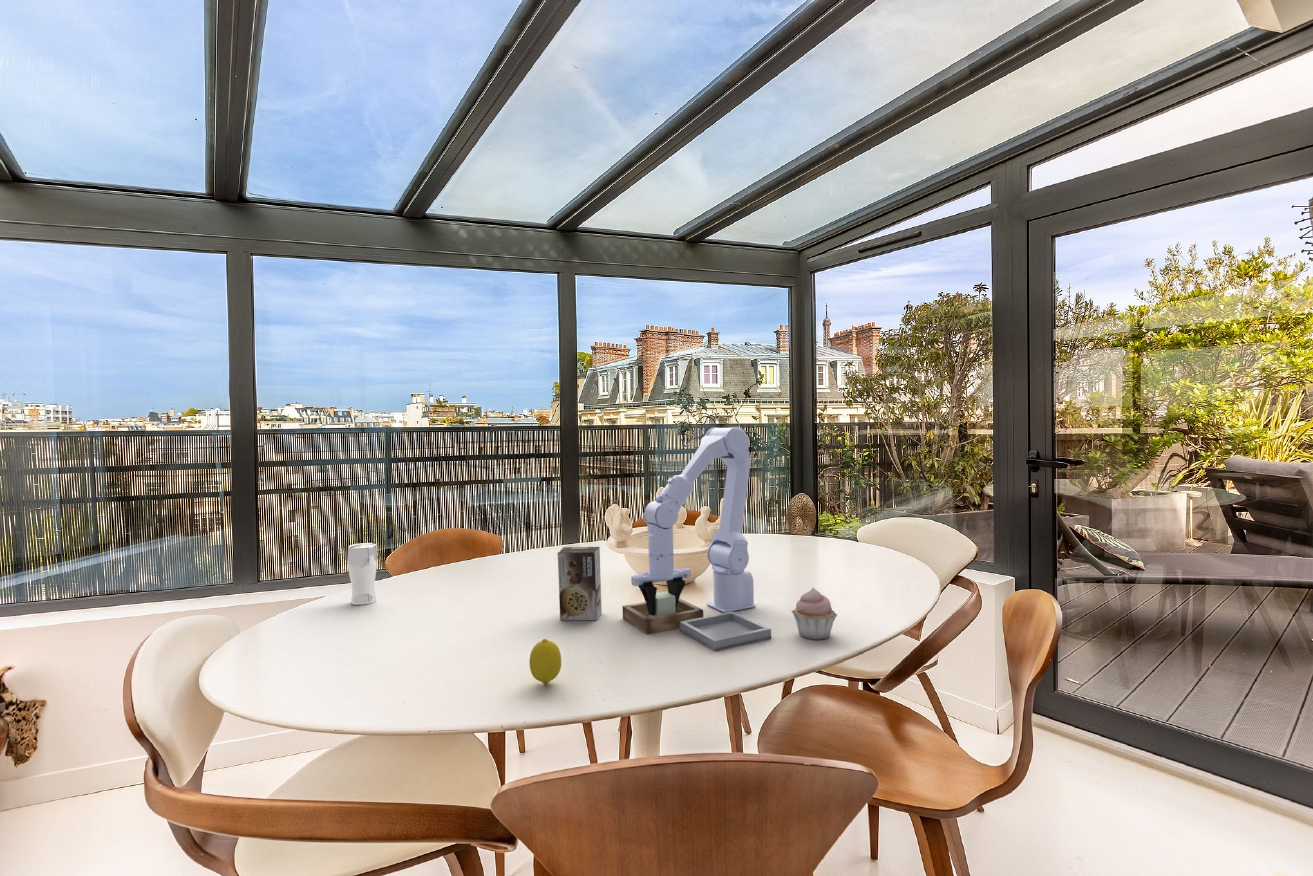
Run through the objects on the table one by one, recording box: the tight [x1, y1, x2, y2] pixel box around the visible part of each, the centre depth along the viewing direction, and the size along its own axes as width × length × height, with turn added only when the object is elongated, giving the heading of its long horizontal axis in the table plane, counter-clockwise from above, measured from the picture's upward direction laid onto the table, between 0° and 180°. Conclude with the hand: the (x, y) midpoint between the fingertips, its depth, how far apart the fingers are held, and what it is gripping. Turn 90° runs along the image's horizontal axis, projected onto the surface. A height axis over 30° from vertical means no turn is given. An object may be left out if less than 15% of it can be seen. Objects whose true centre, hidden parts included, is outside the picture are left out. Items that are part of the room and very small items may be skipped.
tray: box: [679, 611, 772, 652], centre depth 132 cm, size 14×14×2 cm
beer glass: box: [347, 542, 378, 606], centre depth 162 cm, size 7×7×15 cm
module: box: [648, 591, 677, 618], centre depth 142 cm, size 4×4×6 cm
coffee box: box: [557, 546, 603, 621], centre depth 146 cm, size 9×6×16 cm
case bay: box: [622, 597, 704, 635], centre depth 142 cm, size 14×12×3 cm
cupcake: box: [791, 587, 838, 640], centre depth 130 cm, size 9×9×10 cm
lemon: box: [528, 638, 562, 685], centre depth 108 cm, size 6×6×8 cm
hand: (662, 612), depth 142 cm, fingers open, 5 cm apart
